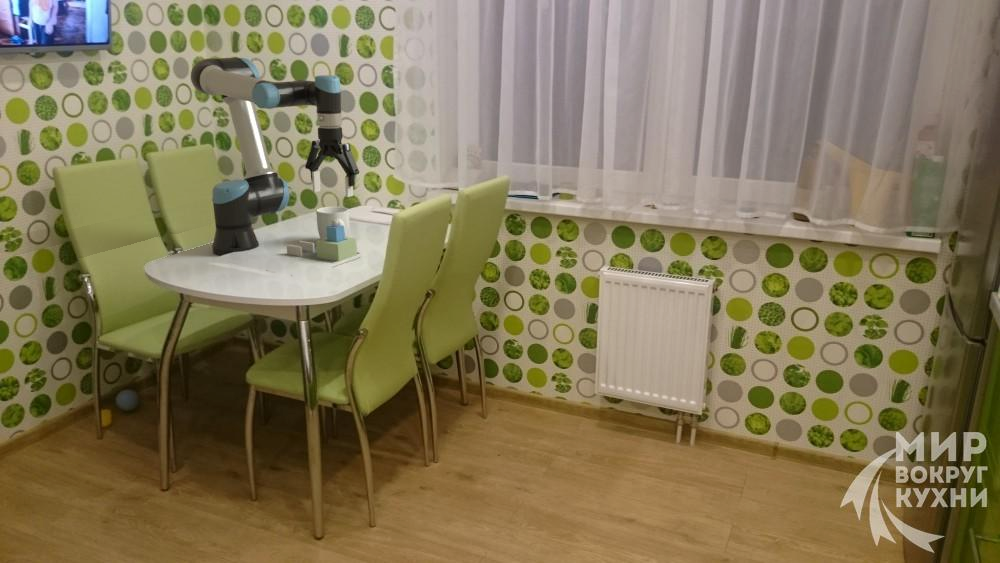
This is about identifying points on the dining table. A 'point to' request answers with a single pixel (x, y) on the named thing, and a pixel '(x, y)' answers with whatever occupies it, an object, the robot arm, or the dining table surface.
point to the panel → (307, 251)
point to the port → (336, 249)
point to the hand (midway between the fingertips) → (333, 193)
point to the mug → (329, 214)
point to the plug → (335, 232)
